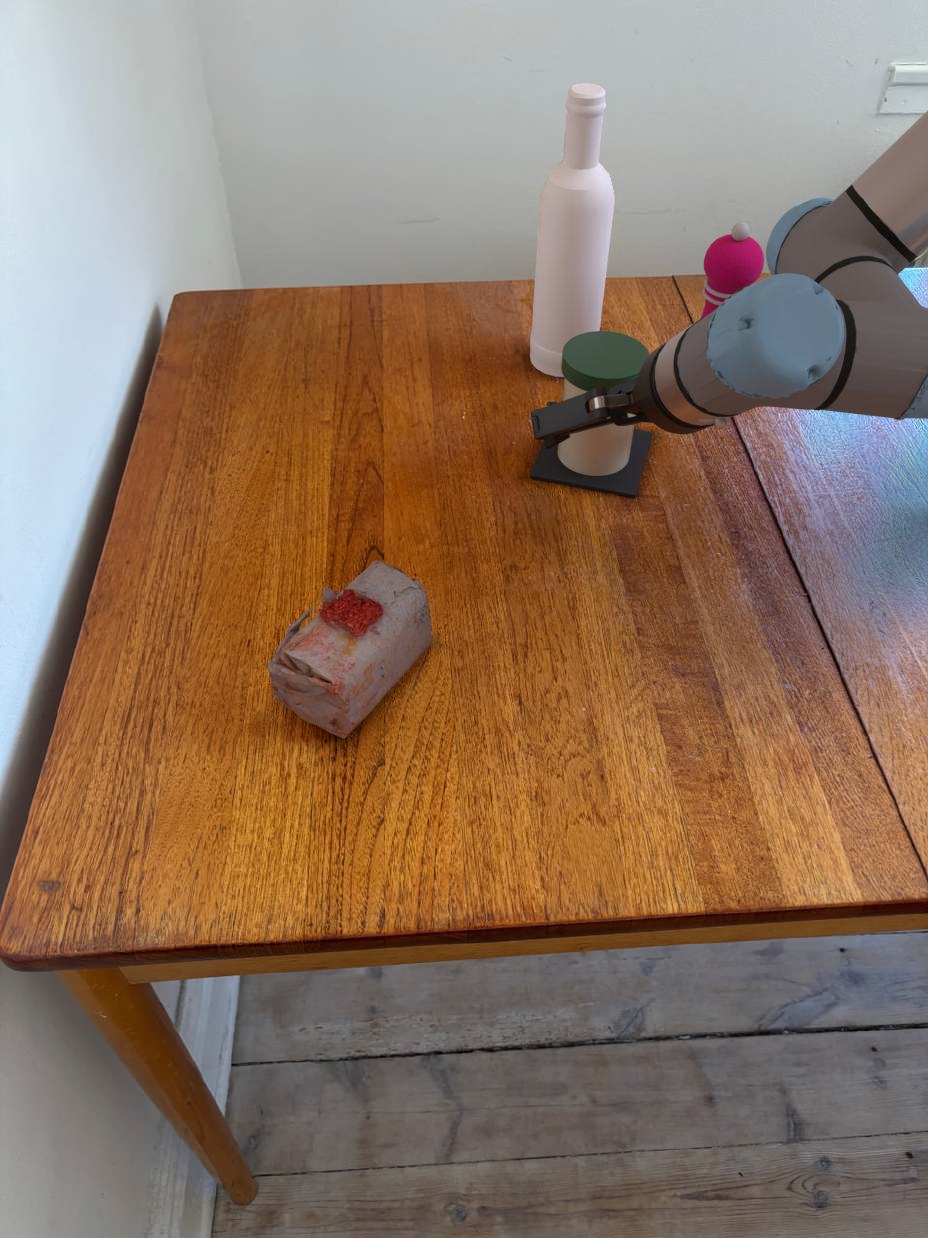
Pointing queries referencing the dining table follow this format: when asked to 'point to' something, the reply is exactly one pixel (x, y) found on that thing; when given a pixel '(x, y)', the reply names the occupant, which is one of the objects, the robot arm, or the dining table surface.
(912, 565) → the dining table surface
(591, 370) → the jar lid
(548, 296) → the bottle
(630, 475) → the mat
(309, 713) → the food item
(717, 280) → the pepper mill
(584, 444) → the jar
